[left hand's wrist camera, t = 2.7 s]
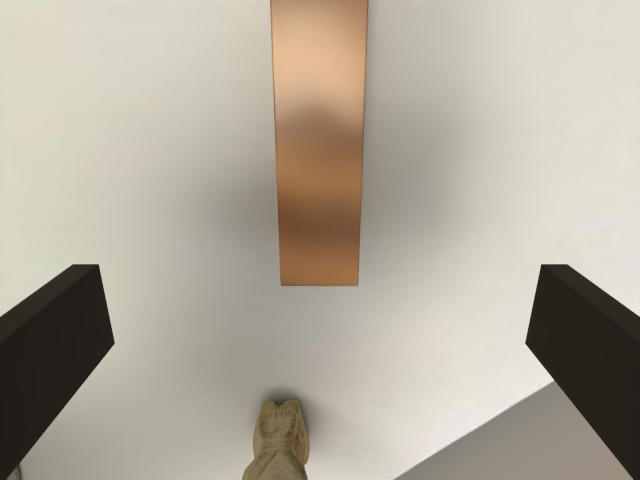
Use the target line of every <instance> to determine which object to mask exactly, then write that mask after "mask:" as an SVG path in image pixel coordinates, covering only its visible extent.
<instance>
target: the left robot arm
mask: <svg viewBox="0 0 640 480" xmlns="http://www.w3.org/2000/svg"><path fill="white" fill-rule="evenodd" d="M114 344H115V342H114V337H113V332H112V328H111V323H110V318H109V313H108V308H107V303H106V298H105V293H104V288H103V283H102V279H101V274H100V269H99V264H73V265H71V266H70V267H69V268H67V269H66V270H64V271H63V272H62V273H60V274H59V275H58V276H56V277H55V278H53V279H52V280H51V281H49V282H48V283H46V284H45V285H44V286H42V287H41V288H40V289H38V290H37V291H35V292H34V293H33V294H31V295H30V296H29V297H27V298H26V299H24V300H23V301H22V302H20V303H19V304H17V305H16V306H15V307H13V308H12V309H11V310H9V311H8V312H6V313H5V314H4V315H2V316H1V317H0V480H20V474H19V469H18V464H19V463H20V462H21V461H22V459H23V458H24V457H25V456H26V454H27V453H28V452H29V451H30V449H31V448H32V447H33V446H34V444H35V443H36V442H37V441H38V439H39V438H40V437H41V436H42V434H43V433H44V432H45V430H46V429H47V428H48V427H49V425H50V424H51V423H52V422H53V420H54V419H55V418H56V417H57V415H58V414H59V413H60V412H61V410H62V409H63V408H64V407H65V405H66V404H67V403H68V402H69V400H70V399H71V398H72V397H73V395H74V394H75V393H76V392H77V390H78V389H79V388H80V386H81V385H82V384H83V383H84V381H85V380H86V379H87V378H88V376H89V375H90V374H91V373H92V371H93V370H94V369H95V368H96V366H97V365H98V364H99V363H100V361H101V360H102V359H103V358H104V356H105V355H106V354H107V353H108V351H109V350H110V349H111V348H112V346H113V345H114ZM525 344H526V345H527V346H528V348H529V349H530V350H531V351H532V353H533V354H534V355H535V356H536V358H537V359H538V360H539V361H540V363H541V364H542V365H543V366H544V368H545V369H546V370H547V371H548V373H549V374H550V375H551V376H552V378H553V379H554V380H555V381H556V383H557V384H558V385H559V386H560V388H561V389H562V390H563V392H564V393H565V394H566V395H567V397H568V398H569V399H570V400H571V401H572V403H573V404H574V405H575V407H576V408H577V409H578V410H579V412H580V413H581V414H582V415H583V417H584V418H585V419H586V420H587V422H588V423H589V424H590V425H591V427H592V428H593V429H594V430H595V432H596V433H597V434H598V436H599V437H600V438H601V439H602V440H603V442H604V443H605V444H606V446H607V447H608V448H609V449H610V451H611V452H612V453H613V454H614V456H615V457H616V458H617V459H618V461H619V462H620V463H621V464H622V466H623V467H624V468H625V469H626V471H627V472H628V473H629V475H630V476H631V477H632V478H633V480H640V317H639V316H638V315H636V314H635V313H634V312H632V311H631V310H629V309H628V308H627V307H625V306H624V305H623V304H621V303H620V302H618V301H617V300H616V299H614V298H613V297H611V296H610V295H609V294H607V293H606V292H605V291H603V290H602V289H600V288H599V287H598V286H596V285H595V284H594V283H592V282H591V281H589V280H588V279H587V278H585V277H584V276H582V275H581V274H580V273H578V272H577V271H576V270H574V269H573V268H571V267H570V266H569V265H567V264H541V269H540V274H539V279H538V283H537V288H536V293H535V298H534V303H533V308H532V313H531V318H530V323H529V328H528V332H527V337H526V342H525Z"/></svg>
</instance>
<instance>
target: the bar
mask: <svg viewBox="0 0 640 480" xmlns="http://www.w3.org/2000/svg"><path fill="white" fill-rule="evenodd" d="M270 7H271V34H272V61H273V88H274V115H275V143H276V170H277V197H278V224H279V251H280V278H281V286H358V273H359V245H360V217H361V189H362V161H363V134H364V106H365V78H366V50H367V22H368V0H270Z"/></svg>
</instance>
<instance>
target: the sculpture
mask: <svg viewBox="0 0 640 480" xmlns="http://www.w3.org/2000/svg"><path fill="white" fill-rule="evenodd" d="M253 449H254V456H255V459H254V460H253V461H252V462H251V463H250V465H249V466H248V467H247V468H246V470H245V471H244V474H243V478H242V480H308V479H307V475H306V471H305V468H304V465H305V464H306V463H307V461H308V457H309V438H308V434H307V430H306V427H305V424H304V421H303V418H302V413H301V410H300V404H299V402H298V400H286V401H285V402H284V404H283V405H281V406H277V404H276V402H275V401H268V402H264V403H263V404H262V407H261V413H260V416H259V418H258V420H257V423H256V427H255V432H254V438H253Z"/></svg>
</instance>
